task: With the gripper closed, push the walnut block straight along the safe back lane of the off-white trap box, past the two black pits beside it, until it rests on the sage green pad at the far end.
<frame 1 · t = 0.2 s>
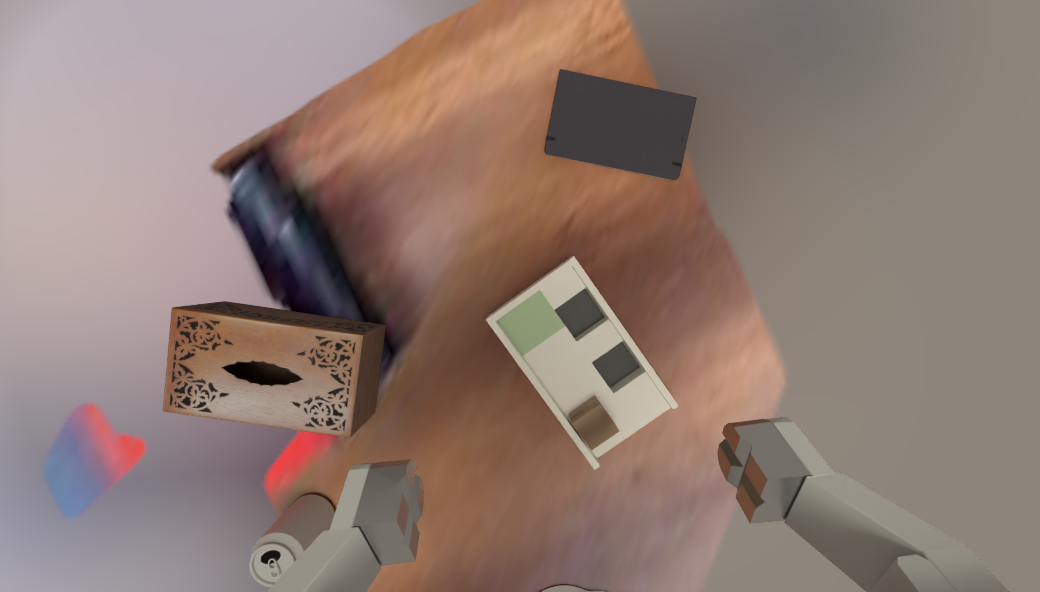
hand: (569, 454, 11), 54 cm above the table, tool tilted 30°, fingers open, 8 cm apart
can: (315, 512, 67), on the table
walnut block: (590, 417, 63), point 3 cm above the table, touching trap box
notebook: (617, 129, 63), on the table
tissue box cover: (301, 356, 65), on the table
trap box: (579, 356, 65), on the table
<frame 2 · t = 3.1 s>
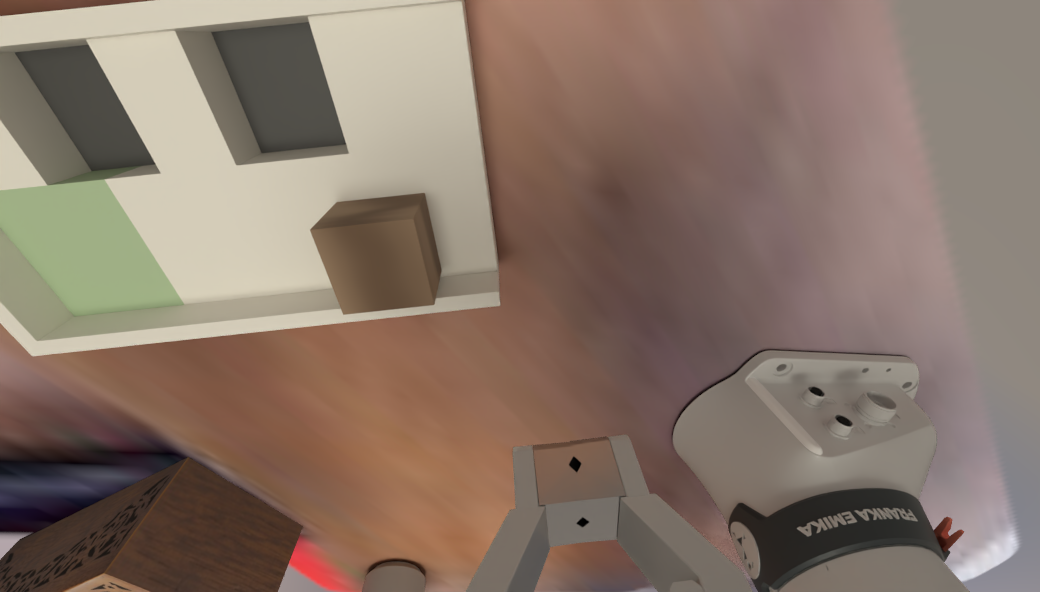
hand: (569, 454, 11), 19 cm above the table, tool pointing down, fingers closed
can: (397, 570, 52), on the table
walnut block: (392, 238, 24), point 3 cm above the table, touching trap box
tissue box cover: (165, 529, 44), on the table
trap box: (253, 171, 24), on the table
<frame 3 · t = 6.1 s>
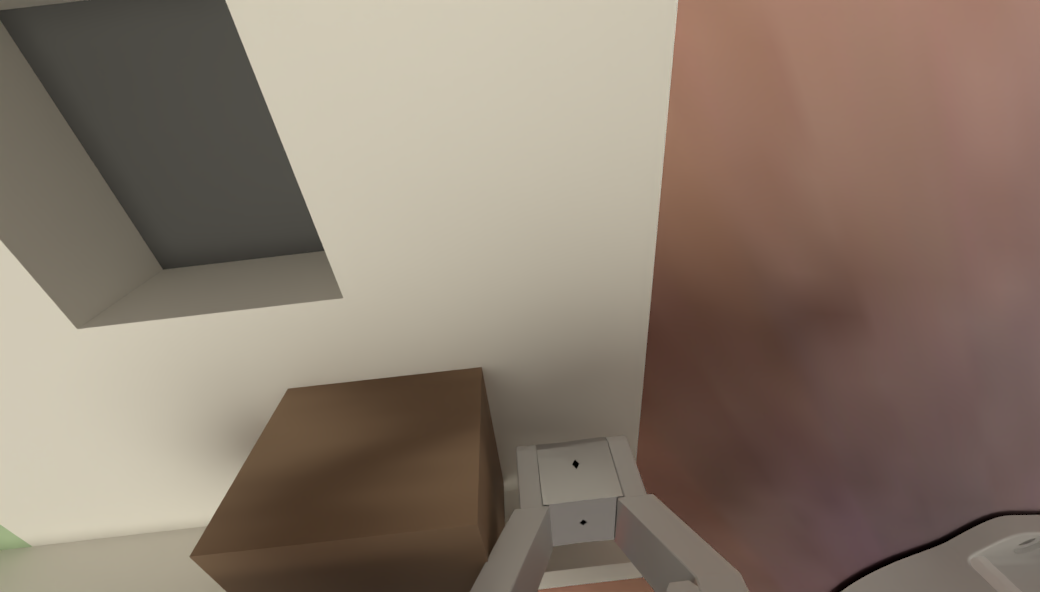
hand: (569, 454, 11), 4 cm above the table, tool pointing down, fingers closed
walnut block: (408, 440, 12), point 3 cm above the table, touching gripper
trap box: (153, 299, 12), on the table
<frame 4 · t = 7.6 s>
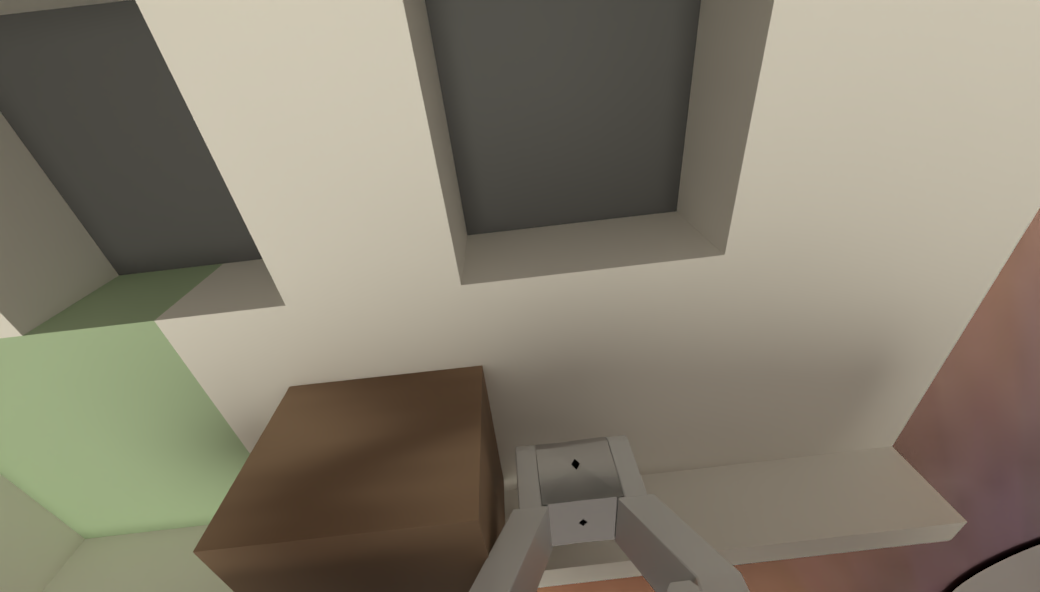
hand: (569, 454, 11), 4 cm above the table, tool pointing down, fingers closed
walnut block: (408, 439, 12), point 3 cm above the table, touching gripper
trap box: (440, 266, 12), on the table
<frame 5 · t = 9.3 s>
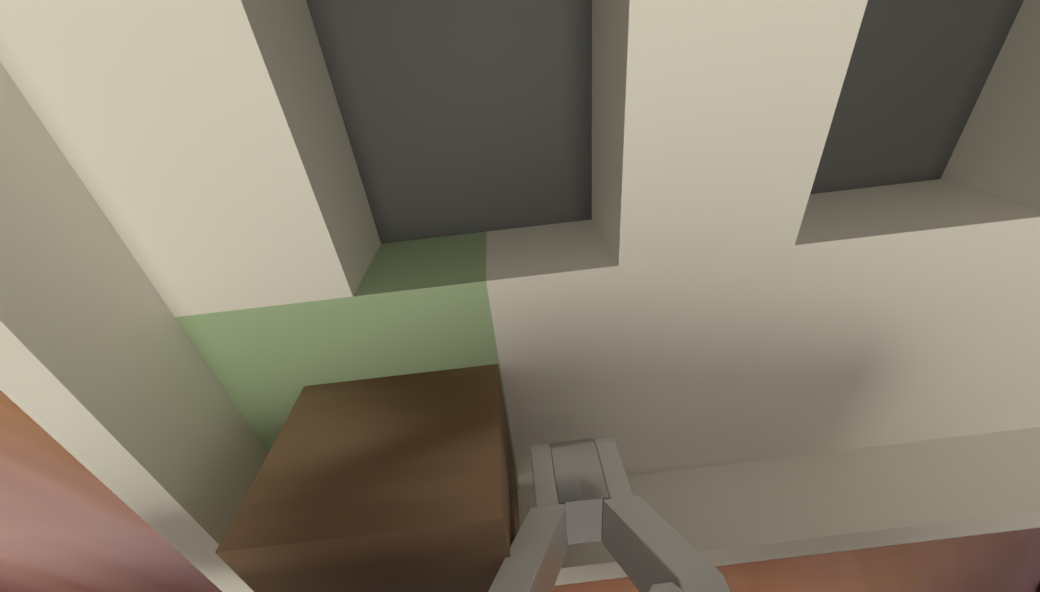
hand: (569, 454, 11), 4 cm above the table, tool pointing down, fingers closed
walnut block: (422, 438, 12), point 3 cm above the table, touching gripper, trap box
trap box: (689, 236, 12), on the table
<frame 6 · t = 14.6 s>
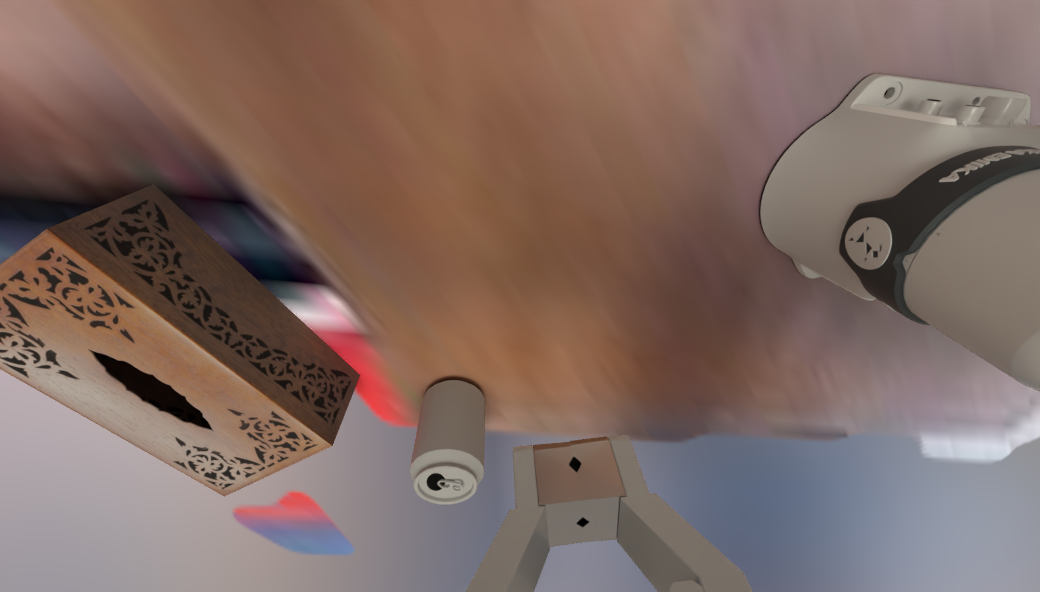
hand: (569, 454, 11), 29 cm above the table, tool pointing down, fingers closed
can: (454, 396, 50), on the table
tissue box cover: (224, 322, 42), on the table
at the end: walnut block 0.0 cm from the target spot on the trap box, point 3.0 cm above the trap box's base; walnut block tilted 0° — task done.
